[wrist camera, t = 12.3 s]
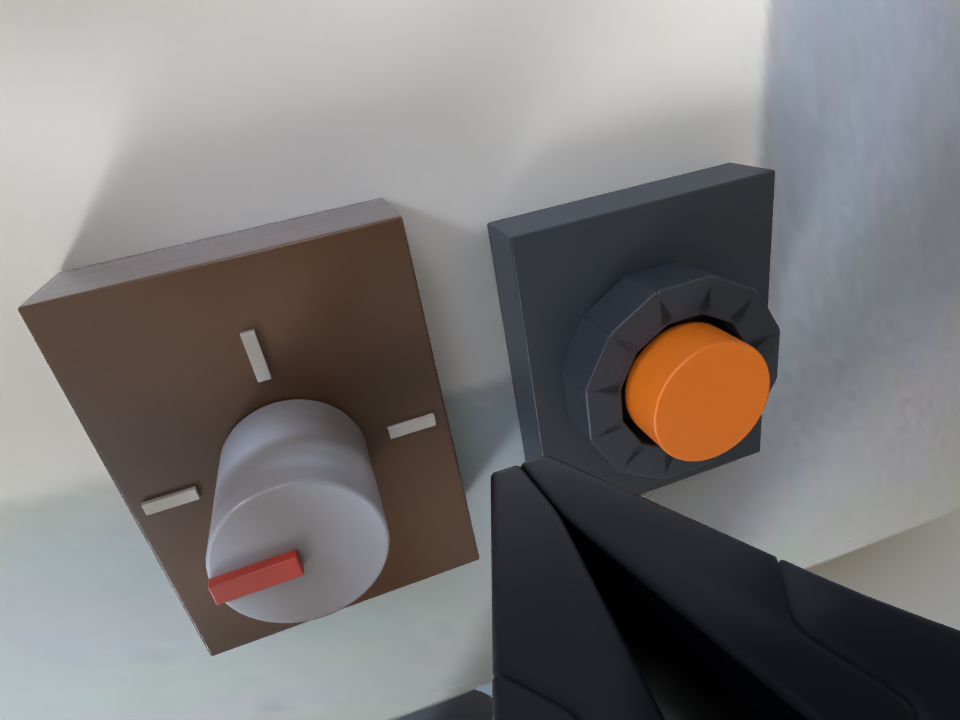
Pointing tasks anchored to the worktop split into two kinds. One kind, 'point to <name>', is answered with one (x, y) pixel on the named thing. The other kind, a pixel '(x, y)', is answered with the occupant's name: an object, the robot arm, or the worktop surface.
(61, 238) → the worktop surface
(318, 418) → the knob
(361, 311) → the panel
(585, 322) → the housing
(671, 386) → the button
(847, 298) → the worktop surface
